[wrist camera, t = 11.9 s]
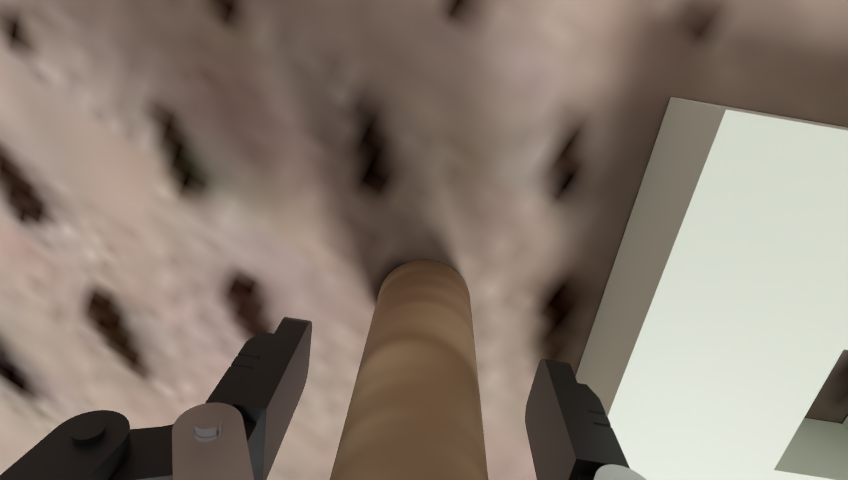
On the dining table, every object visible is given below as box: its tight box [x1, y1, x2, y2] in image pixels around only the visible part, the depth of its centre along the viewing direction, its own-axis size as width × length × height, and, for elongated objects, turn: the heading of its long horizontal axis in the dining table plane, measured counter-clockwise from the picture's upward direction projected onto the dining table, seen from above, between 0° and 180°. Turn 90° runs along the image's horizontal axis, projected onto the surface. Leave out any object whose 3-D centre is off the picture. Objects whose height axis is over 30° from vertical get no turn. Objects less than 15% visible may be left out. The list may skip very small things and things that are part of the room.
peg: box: [330, 260, 488, 480], centre depth 12 cm, size 3×3×10 cm
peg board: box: [575, 97, 848, 480], centre depth 15 cm, size 12×12×3 cm
